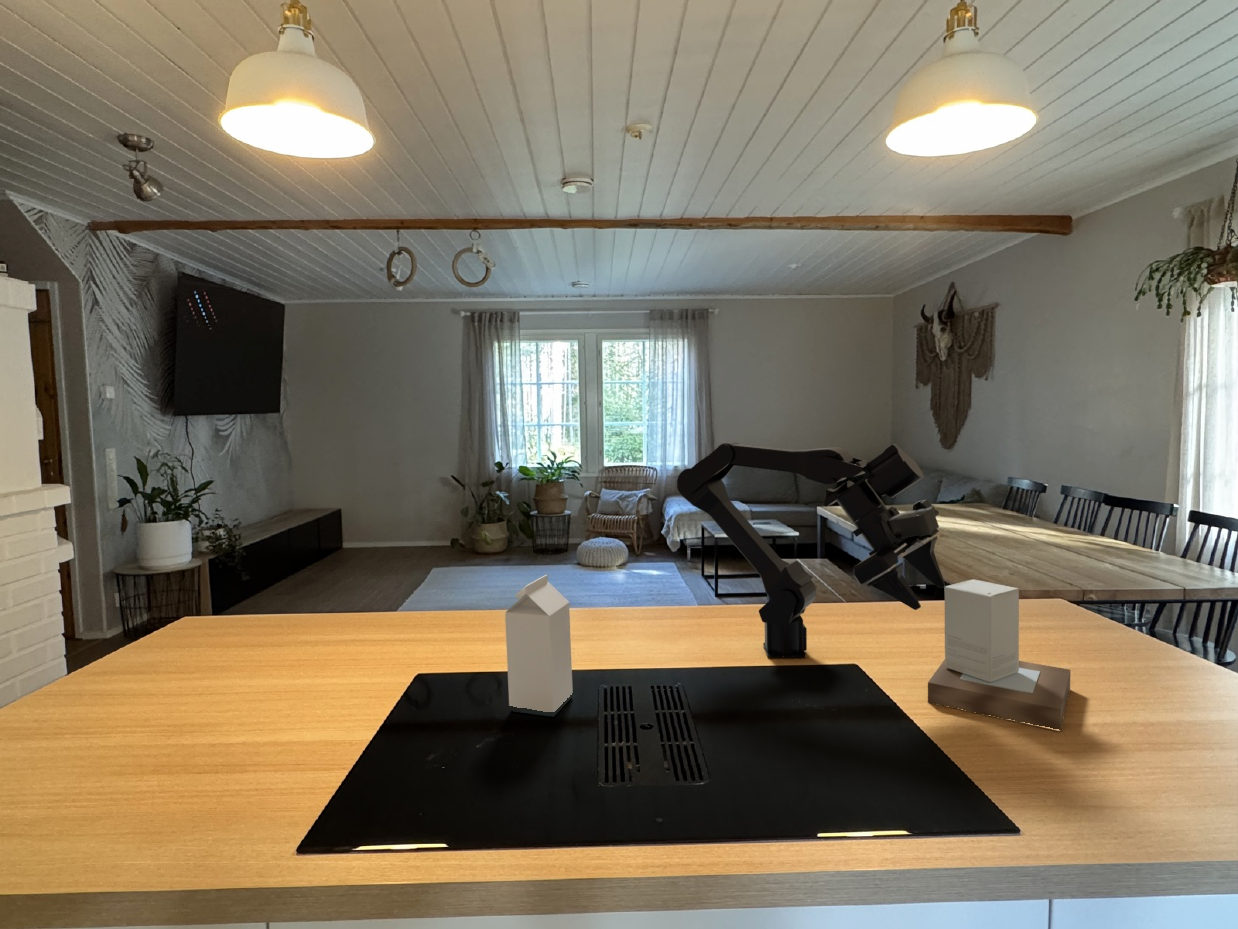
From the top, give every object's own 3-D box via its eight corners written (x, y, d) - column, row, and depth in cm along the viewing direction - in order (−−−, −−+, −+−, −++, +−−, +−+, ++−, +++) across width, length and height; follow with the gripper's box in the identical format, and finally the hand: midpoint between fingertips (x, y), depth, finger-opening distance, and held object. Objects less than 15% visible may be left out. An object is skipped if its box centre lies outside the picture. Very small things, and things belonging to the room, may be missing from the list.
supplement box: (1020, 672, 98) (1021, 588, 97) (989, 684, 95) (990, 596, 94) (973, 657, 105) (973, 577, 104) (942, 667, 101) (942, 585, 100)
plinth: (927, 702, 96) (927, 681, 96) (951, 667, 109) (952, 648, 109) (1060, 732, 87) (1060, 708, 86) (1070, 689, 99) (1070, 668, 99)
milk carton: (573, 698, 102) (568, 575, 100) (553, 719, 95) (548, 587, 94) (531, 693, 104) (525, 573, 103) (509, 713, 97) (503, 585, 96)
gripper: (878, 505, 96) (949, 599, 92) (931, 473, 109) (996, 555, 104) (825, 540, 104) (888, 628, 100) (880, 507, 116) (939, 584, 112)
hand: (930, 597), depth 104 cm, fingers open, 9 cm apart
